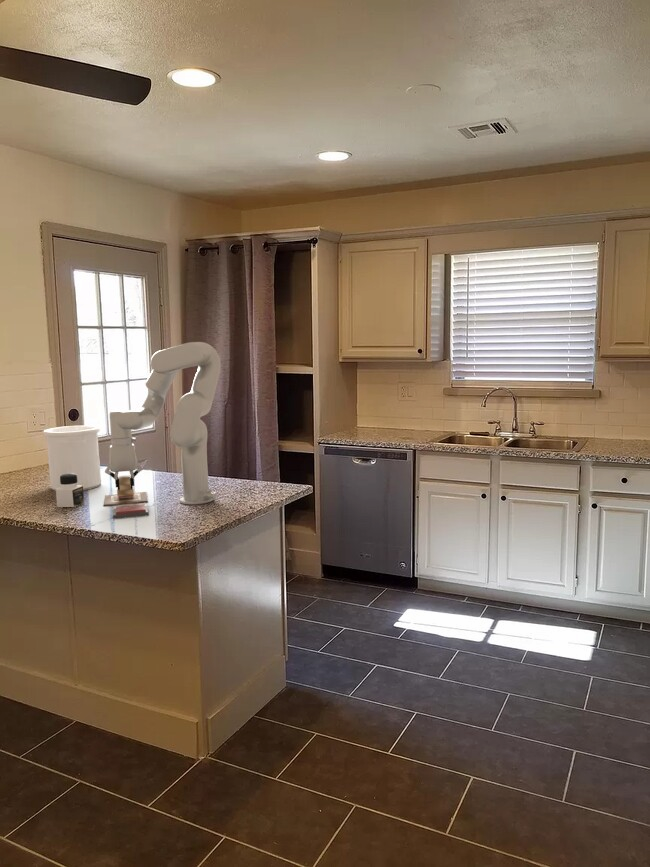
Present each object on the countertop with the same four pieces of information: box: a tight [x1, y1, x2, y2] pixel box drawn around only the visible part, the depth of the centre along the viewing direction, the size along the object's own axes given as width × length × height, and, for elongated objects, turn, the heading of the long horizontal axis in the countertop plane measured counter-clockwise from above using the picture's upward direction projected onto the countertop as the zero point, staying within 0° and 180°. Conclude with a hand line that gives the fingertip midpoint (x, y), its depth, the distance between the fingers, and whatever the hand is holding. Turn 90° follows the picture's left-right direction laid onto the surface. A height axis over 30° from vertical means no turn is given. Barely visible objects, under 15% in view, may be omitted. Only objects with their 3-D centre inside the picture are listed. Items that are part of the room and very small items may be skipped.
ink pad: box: [112, 503, 150, 519], centre depth 242 cm, size 12×10×2 cm
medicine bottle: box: [55, 474, 85, 508], centre depth 256 cm, size 7×7×12 cm
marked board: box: [103, 491, 149, 507], centre depth 264 cm, size 16×16×1 cm
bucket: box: [42, 424, 102, 492], centre depth 287 cm, size 26×22×25 cm
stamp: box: [116, 474, 135, 498], centre depth 263 cm, size 6×6×8 cm
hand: (125, 488), depth 263 cm, fingers open, 4 cm apart
